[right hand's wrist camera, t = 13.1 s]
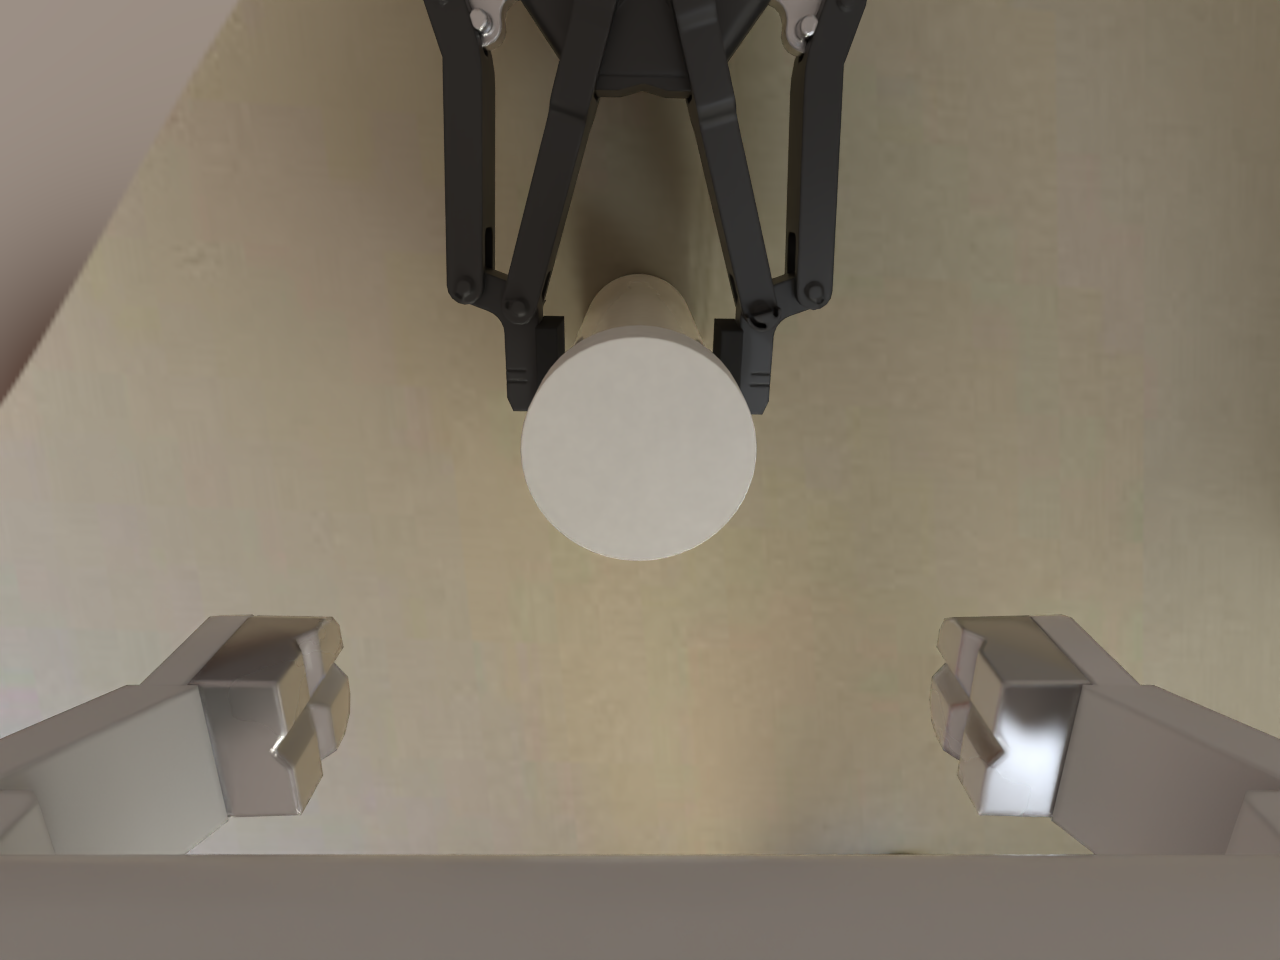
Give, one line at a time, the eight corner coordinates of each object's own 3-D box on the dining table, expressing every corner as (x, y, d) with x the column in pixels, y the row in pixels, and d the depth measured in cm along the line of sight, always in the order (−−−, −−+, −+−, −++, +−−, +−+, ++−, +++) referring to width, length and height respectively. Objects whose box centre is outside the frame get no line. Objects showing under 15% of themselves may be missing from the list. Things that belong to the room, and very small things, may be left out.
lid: (562, 553, 21) (556, 582, 19) (502, 354, 19) (490, 368, 18) (765, 508, 20) (775, 534, 19) (723, 300, 19) (731, 309, 17)
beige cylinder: (600, 392, 36) (568, 557, 20) (572, 288, 34) (513, 376, 18) (702, 367, 35) (755, 517, 19) (679, 262, 34) (716, 327, 18)
